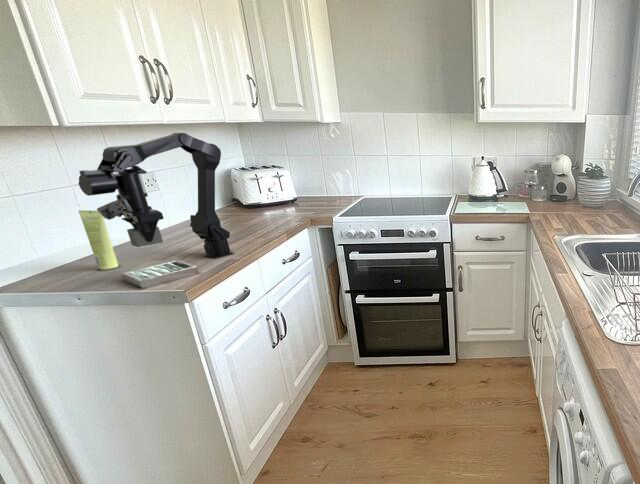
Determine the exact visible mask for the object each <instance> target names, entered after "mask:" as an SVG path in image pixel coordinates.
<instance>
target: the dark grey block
mask: <svg viewBox="0 0 640 484" xmlns="http://www.w3.org/2000/svg"><path fill="white" fill-rule="evenodd" d="M126 231H127V235H128V237H129V240H130V243H131V246H134V247H136V248H141V247H146V246H151V245H155V244H156V245H157V244H161V243H164V240H163V237H162V233H161V230H160V227H159V226H158V225H157V226H156V230H155V233H154V237H153V241H151V242H148V241H147V240H146V238H145V236H144V234H143V232H142V230H141V228H140V227H139V228H133V227H132V228H127V229H126Z"/></svg>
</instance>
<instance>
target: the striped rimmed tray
mask: <svg viewBox="0 0 640 484" xmlns="http://www.w3.org/2000/svg"><path fill="white" fill-rule="evenodd" d="M198 274H199V270H198V267H197V265H195V264H191V263H189V262H185V261H183V260H179V259H176V260H172V261H167V262H164V263H159V264H155V265H151V266H147V267H142V268H138V269H134V270H130V271H125V272H122V273H121V275H122V278H123V280H124V282H126V283H129V284H131V285H133V286H135V287H138V288H140V289H143V290H144V289H147V288H150V287H155V286H158V285H161V284H164V283H168V282H169V283H170V282H172V281H176V280H180V279H183V278H187V277H190V276H195V275H198Z"/></svg>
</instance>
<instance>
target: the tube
mask: <svg viewBox="0 0 640 484" xmlns="http://www.w3.org/2000/svg"><path fill="white" fill-rule="evenodd" d="M77 212H78V214H79V217H80V219H81V222H82V225H83V228H84V231H85V234H86V236H87V239H88V242H89V244H90V248H91V251H92V254H93V256H94V260H95V262H96V265H97V268H98V270H101V271H105V270H111V269H112V270H113V269H116V268H118V267H119V261H118V259H117V257H116V252H115V249H114V247H113V245H112V242H111V241H112V240H111V238H110V235H109V232H108V229H107V225H106V223H105V218H104V217H103V216H102V215H101V214H100V213H99V211H98V210H87V209H86V210H85V209H84V210H83V209H78V210H77Z"/></svg>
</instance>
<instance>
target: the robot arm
mask: <svg viewBox="0 0 640 484" xmlns="http://www.w3.org/2000/svg"><path fill="white" fill-rule="evenodd" d="M178 148H180V149H182V150H183V151H185V152H186V153H187V154H191V158H192V161H193V163H194V165H195V167H196V169H197V211H196V213H195V214H190V216H189V218H190V225H189V227H190V228H191V230H192V232H193V233H194V234H195V235H197V236H198V237H199V238H200V240H203V248H204V252H205V254H204V255H205V256H206V257H209V258H213V259H217V258H221V257H224V256H229V255H233V254H234V252H233V251H231V249H230V245H229V241H228V239H230V236H231V232H230V231H229V230H227V229H225V228H224V227H222V225H221V220H220V218H219V217H218V214H217V212H216V170H217V168H218V167H219V165H220V162H221V157H222V151H221V148H219V147H218V145H216V144H215V143H210V142H209V143H208V142H207V141H205V140H201V139H199V138H196V137H194V136H192V135H189V134H188V133H185V132H173V133H172V134H168V135H165V136H161V137H157V138H155V139H151V140H147V141H143V142H140V143H137V144H128V145H127V144H126V145H116V146H107V147H106V148H104V149H103V151H102V158H101V161H100V162H99V165H98V166H97V169H94V170H92V169H91V170H88V169H87V170H85V169H83V170H79V177H78V182H77V184H78V186H79V188H80V190H81V192H82V193H84V195H86V196H88V197H91V196H97V195H106V194H107V195H108V194H113V193H115V192H116V191H117V192H118V194H116V196H115V198H116V200H112V201H111V202H108V203H106V204H104V205H102V206H99V207H97V208H96V211H99V213H100V214H101V215H102V216H103V219H104V220H108V221H110V220H113V219H116V217H118V218H120V219H121V220H122V221H125V222H126V223H129V224H130V225H131V227H132V229H133V228H139V227H140V228H141V230H142V232H143V234H144V236H145V238H146V240H147V241H148V242H151V241H153V237H154V233H155V230H156V226H157V227H158V223H159V222H160V221H161V220H164V215H163V212H161V211H160V210H157V209H153V208H152V206H151V205H149V203H148V200H147V197H149V195H148V193H147V192H145V190H144V188H143V187H144V186H143V184H142V181H141V177H140V175H144V174H147V173H148V172H147V170H145V169H143V168H141V167H140V166H139V164H141V163H143V162H145V160H146V159H148V158H149V157H152V156H155V155H159V154H162V153H165V152H168V151H171V150H175V149H178ZM122 216H123V217H122Z"/></svg>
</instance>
